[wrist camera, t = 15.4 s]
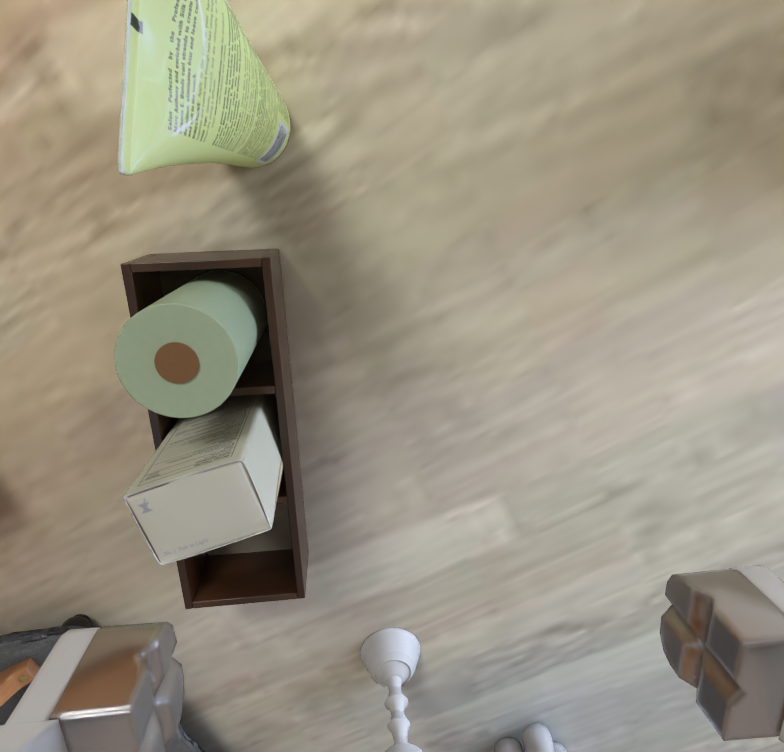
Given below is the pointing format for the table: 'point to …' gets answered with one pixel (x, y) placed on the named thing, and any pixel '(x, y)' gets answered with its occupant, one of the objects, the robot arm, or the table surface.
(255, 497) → the cosmetic box
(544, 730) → the round bodied animal figurine
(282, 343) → the rack
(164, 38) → the tube
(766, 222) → the table surface
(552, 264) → the table surface
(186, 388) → the towel roll
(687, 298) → the table surface
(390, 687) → the chalice
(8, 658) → the serving tray
